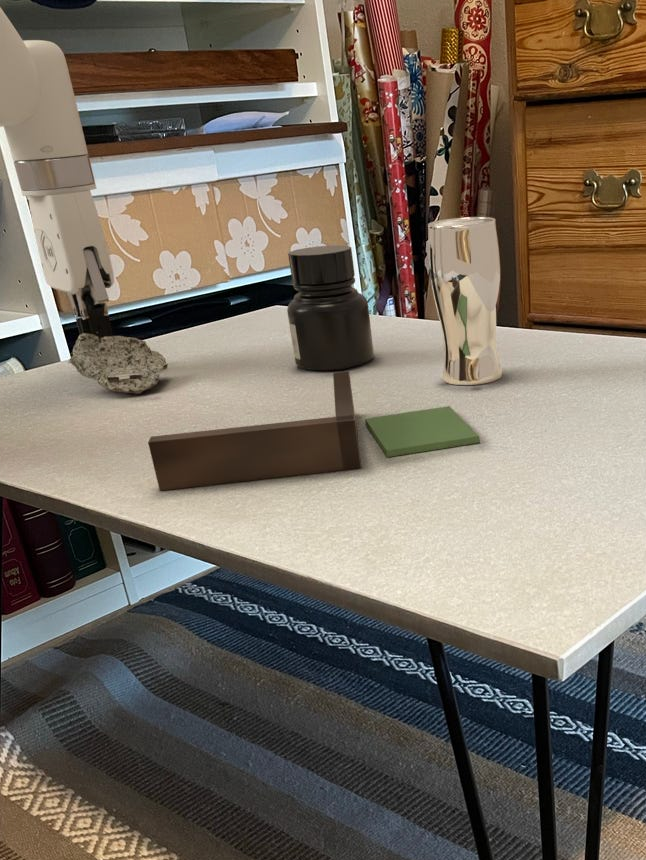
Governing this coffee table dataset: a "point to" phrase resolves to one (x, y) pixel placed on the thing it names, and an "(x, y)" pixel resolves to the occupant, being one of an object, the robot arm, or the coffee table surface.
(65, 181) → the robot arm
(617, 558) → the coffee table surface
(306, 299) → the ink bottle
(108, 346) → the rock sample
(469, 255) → the beer glass
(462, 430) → the green tile
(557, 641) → the coffee table surface
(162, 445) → the corner stop
